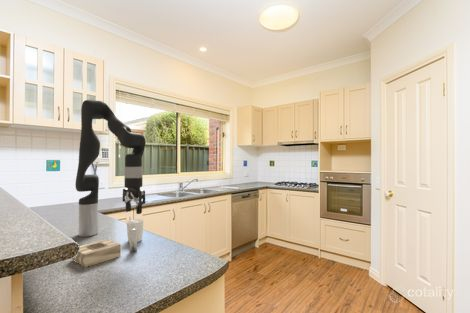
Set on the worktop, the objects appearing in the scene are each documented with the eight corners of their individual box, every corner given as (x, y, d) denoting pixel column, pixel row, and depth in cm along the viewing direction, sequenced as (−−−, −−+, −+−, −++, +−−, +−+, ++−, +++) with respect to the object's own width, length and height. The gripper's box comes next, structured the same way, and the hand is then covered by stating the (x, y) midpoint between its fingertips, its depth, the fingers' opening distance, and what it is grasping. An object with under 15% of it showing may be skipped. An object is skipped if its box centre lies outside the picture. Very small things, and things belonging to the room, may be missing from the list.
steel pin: (128, 251, 109) (128, 229, 109) (134, 249, 111) (134, 228, 112) (132, 253, 107) (132, 230, 107) (138, 251, 110) (138, 229, 110)
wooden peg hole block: (72, 260, 100) (72, 247, 100) (106, 249, 111) (106, 238, 111) (85, 267, 93) (85, 254, 93) (120, 255, 104) (120, 243, 104)
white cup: (127, 239, 126) (127, 220, 127) (143, 237, 129) (143, 218, 129) (126, 244, 119) (126, 223, 119) (143, 242, 122) (143, 222, 122)
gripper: (117, 176, 111) (117, 212, 111) (135, 177, 103) (135, 216, 102) (132, 175, 117) (132, 209, 117) (150, 176, 109) (150, 213, 109)
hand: (133, 212), depth 110 cm, fingers open, 8 cm apart
